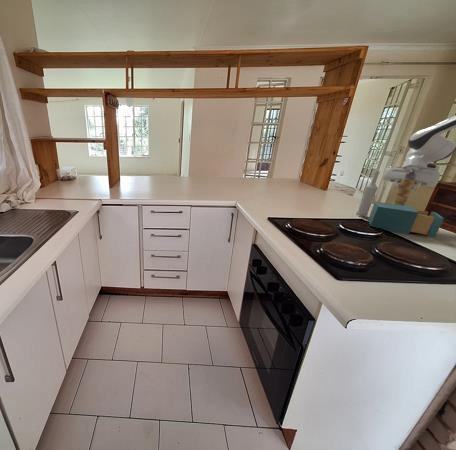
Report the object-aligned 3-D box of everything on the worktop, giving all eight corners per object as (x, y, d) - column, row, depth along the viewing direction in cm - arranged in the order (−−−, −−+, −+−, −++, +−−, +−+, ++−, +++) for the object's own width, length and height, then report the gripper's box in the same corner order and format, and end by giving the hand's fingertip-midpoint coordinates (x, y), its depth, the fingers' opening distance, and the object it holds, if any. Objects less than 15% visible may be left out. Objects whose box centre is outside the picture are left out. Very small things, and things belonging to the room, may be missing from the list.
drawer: (430, 230, 112) (439, 212, 109) (438, 237, 103) (448, 218, 100) (391, 223, 120) (398, 206, 117) (396, 230, 110) (403, 212, 107)
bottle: (353, 213, 137) (368, 170, 129) (363, 214, 137) (379, 171, 128) (359, 216, 132) (375, 171, 124) (369, 217, 132) (386, 172, 123)
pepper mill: (401, 209, 126) (418, 170, 119) (403, 211, 122) (420, 171, 115) (389, 207, 128) (405, 169, 121) (391, 209, 125) (407, 170, 118)
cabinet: (402, 226, 118) (411, 206, 114) (408, 234, 108) (418, 212, 104) (367, 220, 126) (374, 201, 122) (370, 227, 115) (378, 206, 112)
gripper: (387, 162, 129) (379, 181, 126) (444, 166, 115) (436, 188, 112) (385, 170, 133) (377, 189, 130) (439, 175, 120) (431, 196, 116)
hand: (405, 188), depth 121 cm, fingers closed on pepper mill, 5 cm apart
